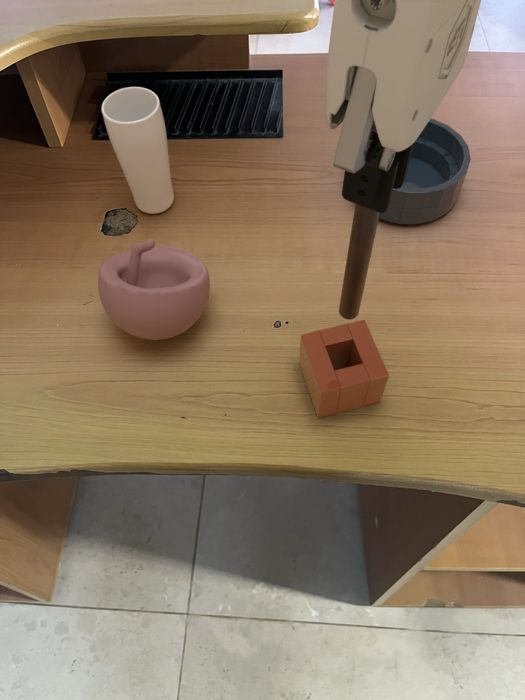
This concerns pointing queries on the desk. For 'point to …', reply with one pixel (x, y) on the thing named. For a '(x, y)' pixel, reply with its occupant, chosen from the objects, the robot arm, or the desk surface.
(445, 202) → the bowl
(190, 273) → the mortar and pestle
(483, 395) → the desk surface
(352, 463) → the desk surface
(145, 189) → the drinking glass
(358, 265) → the stirring stick
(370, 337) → the holder
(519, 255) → the desk surface
